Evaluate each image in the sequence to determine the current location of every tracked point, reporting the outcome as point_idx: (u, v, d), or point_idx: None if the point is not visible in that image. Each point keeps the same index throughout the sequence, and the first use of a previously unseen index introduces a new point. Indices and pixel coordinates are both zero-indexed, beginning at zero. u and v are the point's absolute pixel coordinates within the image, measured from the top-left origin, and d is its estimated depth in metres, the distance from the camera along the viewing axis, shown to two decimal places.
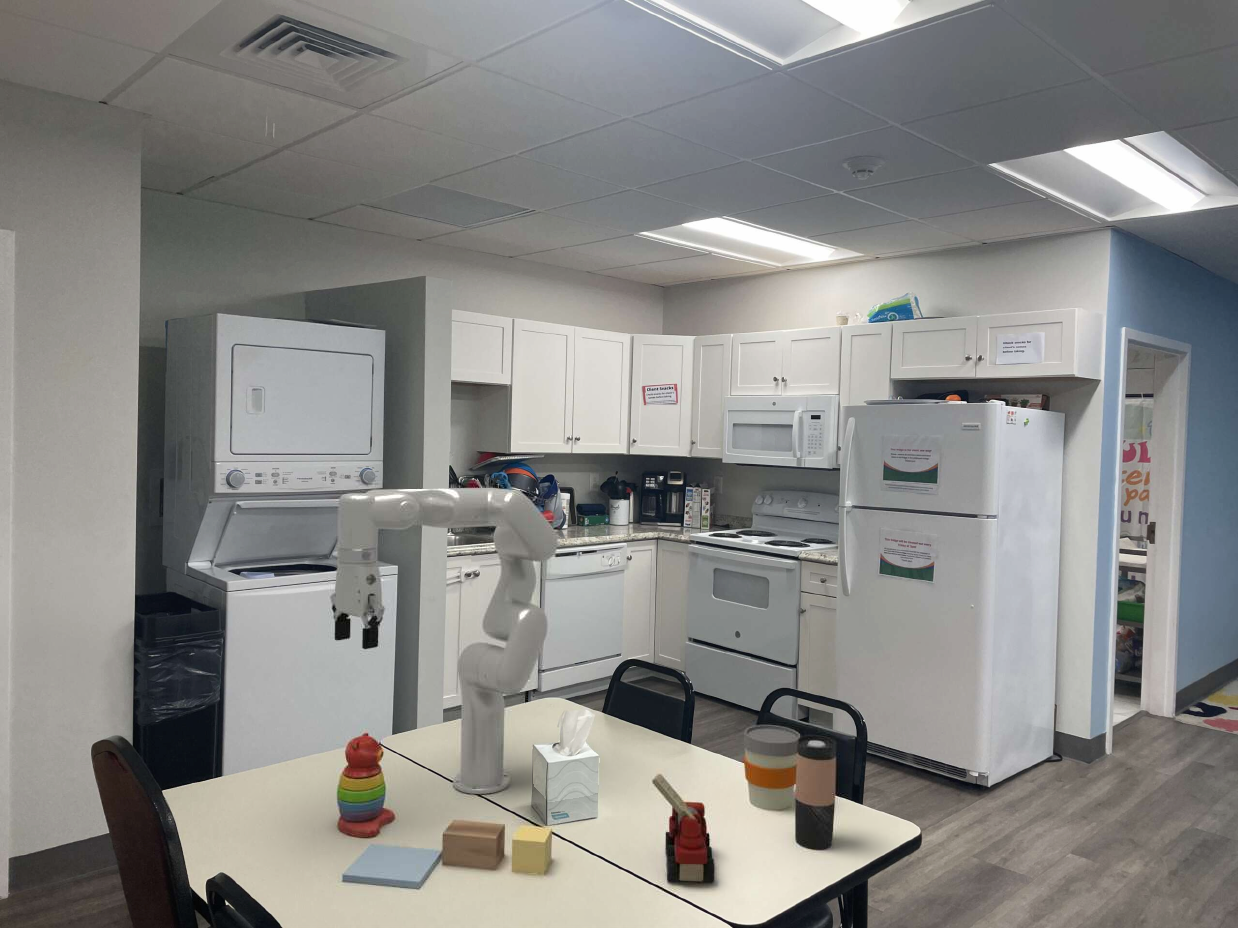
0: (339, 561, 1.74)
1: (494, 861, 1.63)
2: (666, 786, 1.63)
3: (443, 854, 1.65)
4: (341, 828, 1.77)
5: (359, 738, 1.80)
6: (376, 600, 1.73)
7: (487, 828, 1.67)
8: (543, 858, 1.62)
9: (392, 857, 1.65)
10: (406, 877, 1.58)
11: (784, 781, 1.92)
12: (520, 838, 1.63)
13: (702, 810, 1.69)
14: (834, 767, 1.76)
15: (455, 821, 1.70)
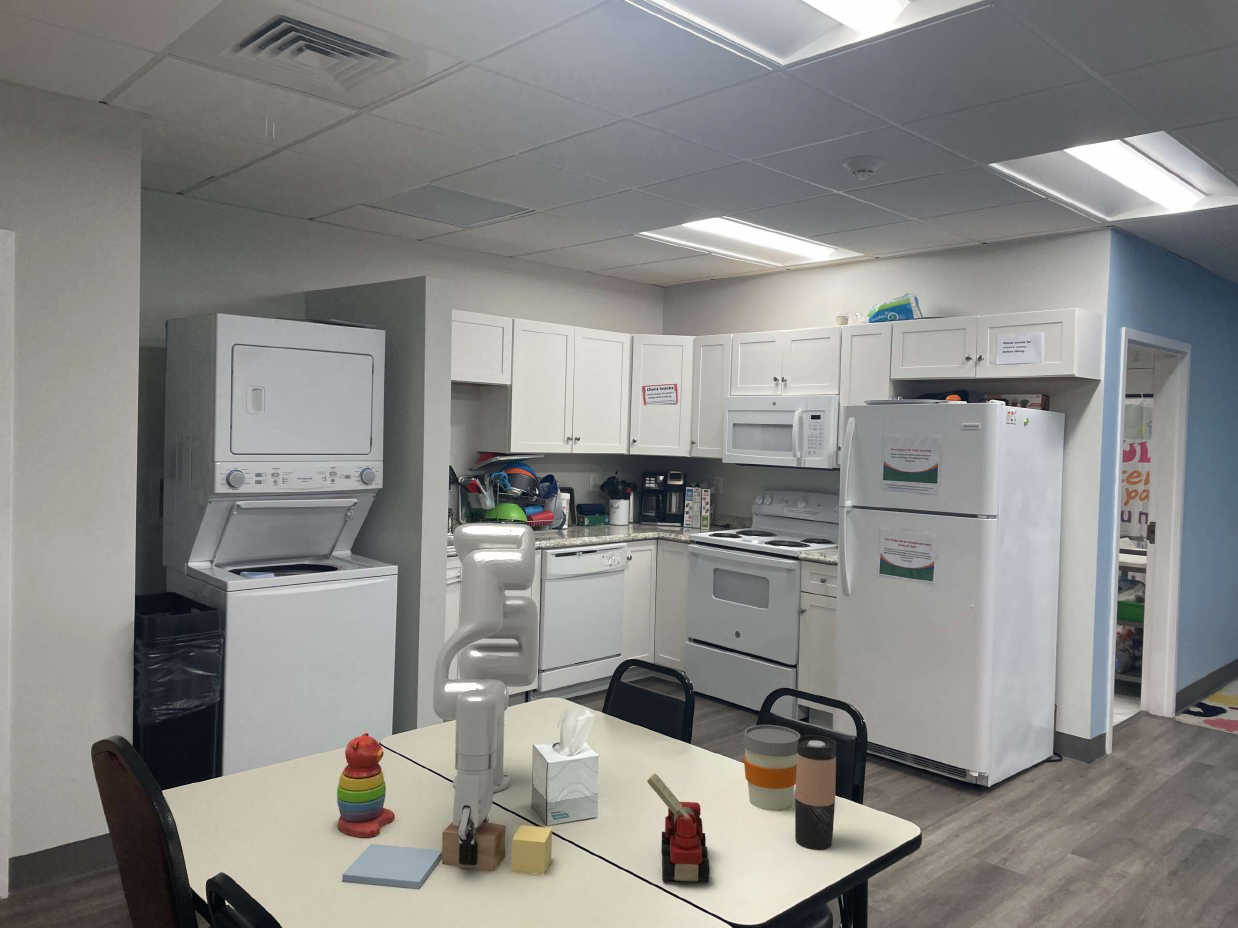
0: (494, 764, 1.66)
1: (492, 861, 1.63)
2: (661, 786, 1.63)
3: (443, 852, 1.65)
4: (341, 828, 1.77)
5: (359, 738, 1.80)
6: None
7: (488, 828, 1.67)
8: (543, 858, 1.62)
9: (392, 857, 1.65)
10: (406, 877, 1.58)
11: (784, 781, 1.92)
12: (520, 838, 1.63)
13: (698, 810, 1.69)
14: (834, 767, 1.76)
15: None
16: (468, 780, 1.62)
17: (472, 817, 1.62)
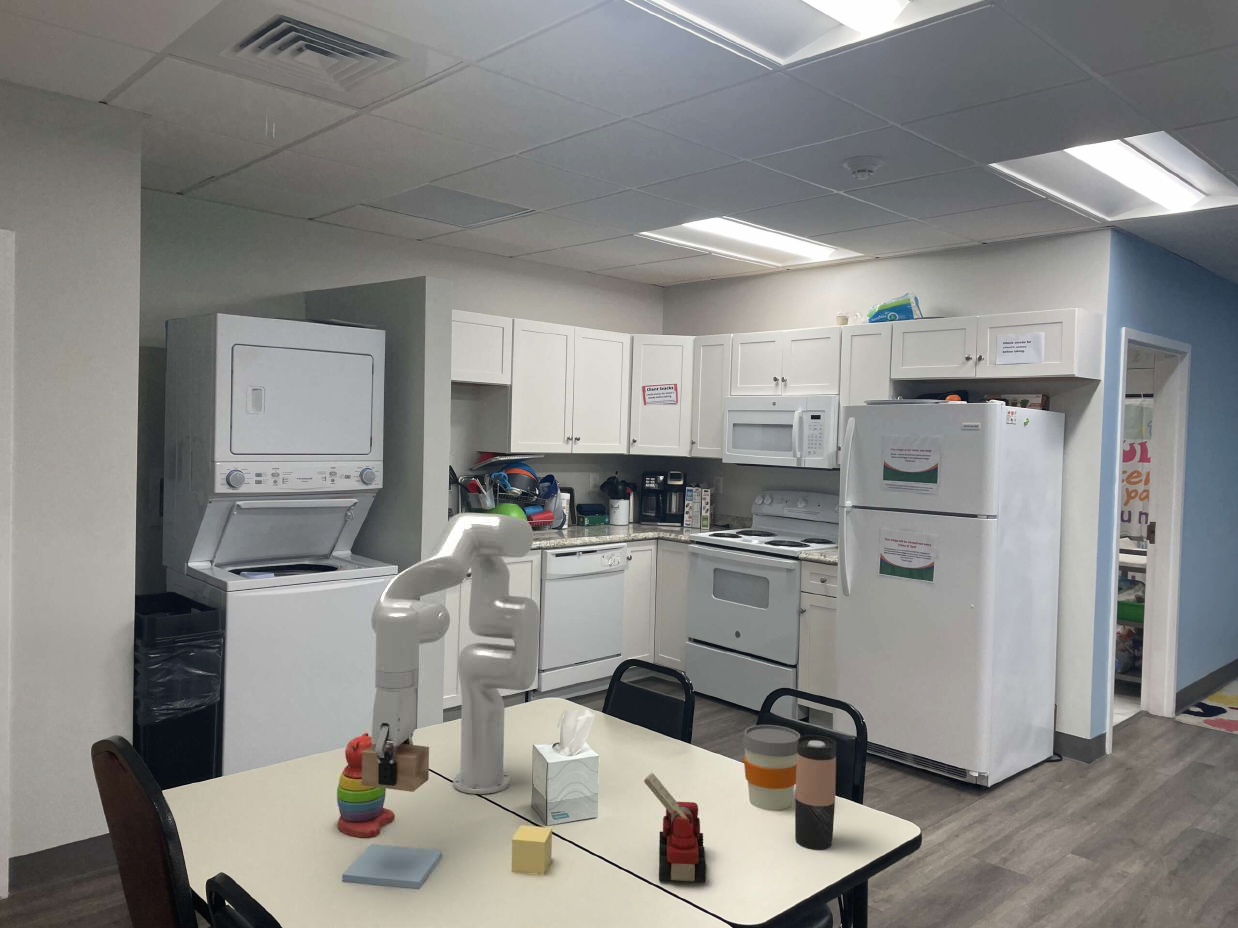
0: (415, 683, 1.61)
1: (412, 781, 1.58)
2: (658, 786, 1.63)
3: (362, 774, 1.61)
4: (341, 828, 1.77)
5: (359, 738, 1.80)
6: None
7: (409, 749, 1.62)
8: (543, 858, 1.62)
9: (392, 857, 1.65)
10: (406, 877, 1.58)
11: (784, 781, 1.92)
12: (520, 838, 1.63)
13: (695, 810, 1.69)
14: (834, 767, 1.76)
15: None
16: (387, 697, 1.57)
17: (391, 735, 1.57)
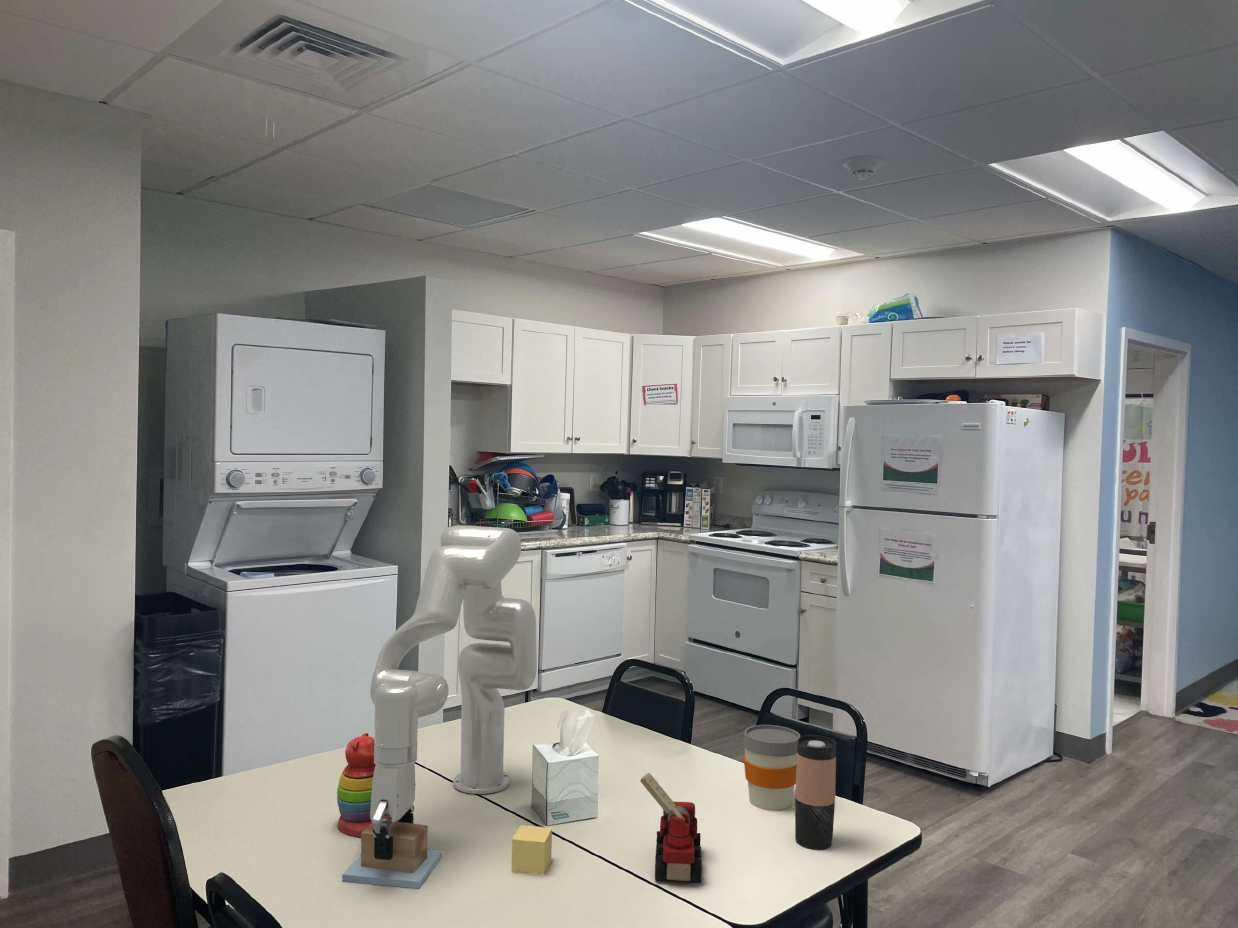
0: (414, 758, 1.61)
1: (412, 863, 1.59)
2: (654, 785, 1.64)
3: (362, 854, 1.61)
4: (341, 828, 1.77)
5: (359, 738, 1.80)
6: None
7: (408, 829, 1.63)
8: (543, 858, 1.62)
9: None
10: (406, 877, 1.58)
11: (784, 781, 1.92)
12: (520, 838, 1.63)
13: (692, 810, 1.69)
14: (834, 767, 1.76)
15: None
16: (386, 774, 1.58)
17: (389, 812, 1.57)
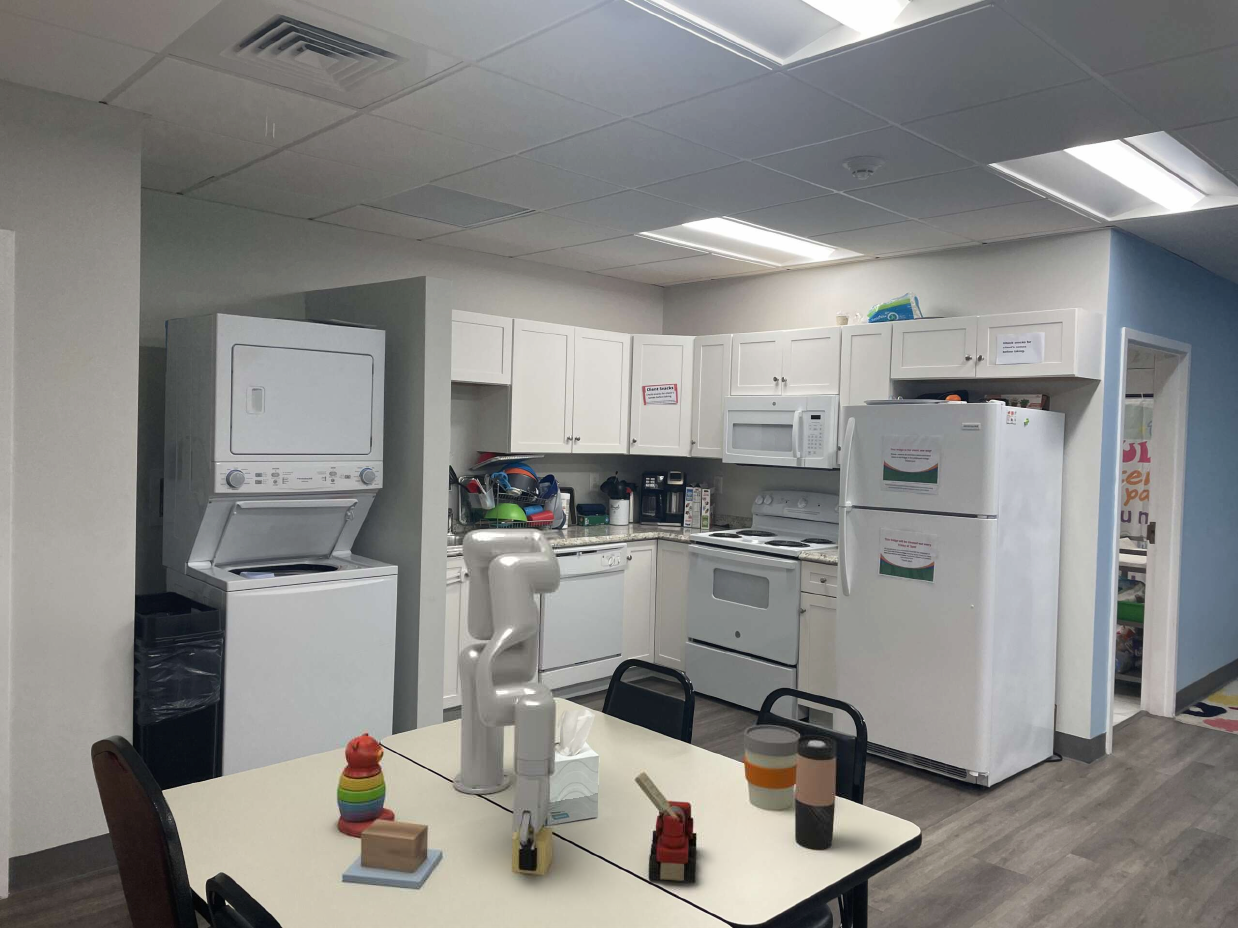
0: (553, 769, 1.64)
1: (412, 863, 1.59)
2: (649, 785, 1.64)
3: (362, 854, 1.61)
4: (341, 828, 1.77)
5: (359, 738, 1.80)
6: None
7: (408, 829, 1.63)
8: (543, 858, 1.62)
9: None
10: (406, 877, 1.58)
11: (784, 781, 1.92)
12: None
13: (688, 810, 1.69)
14: (834, 767, 1.76)
15: (377, 821, 1.66)
16: (528, 785, 1.61)
17: (532, 822, 1.60)
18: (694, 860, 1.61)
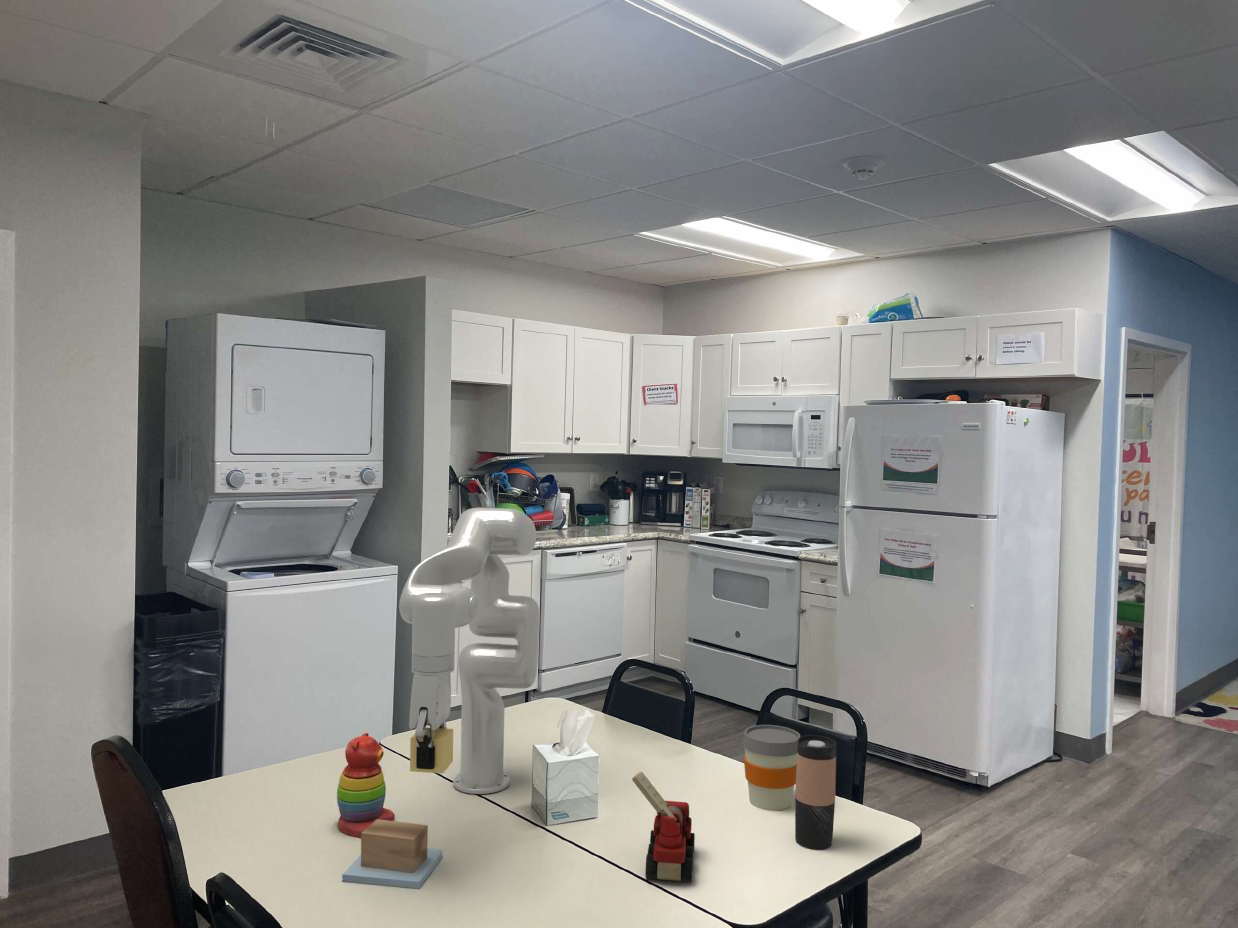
0: (452, 667, 1.62)
1: (412, 863, 1.59)
2: (646, 784, 1.64)
3: (362, 854, 1.61)
4: (341, 828, 1.77)
5: (359, 738, 1.80)
6: None
7: (408, 829, 1.63)
8: (442, 756, 1.60)
9: None
10: (406, 877, 1.58)
11: (784, 781, 1.92)
12: None
13: (686, 810, 1.69)
14: (834, 767, 1.76)
15: (377, 821, 1.66)
16: (425, 681, 1.58)
17: (429, 719, 1.58)
18: (691, 860, 1.61)
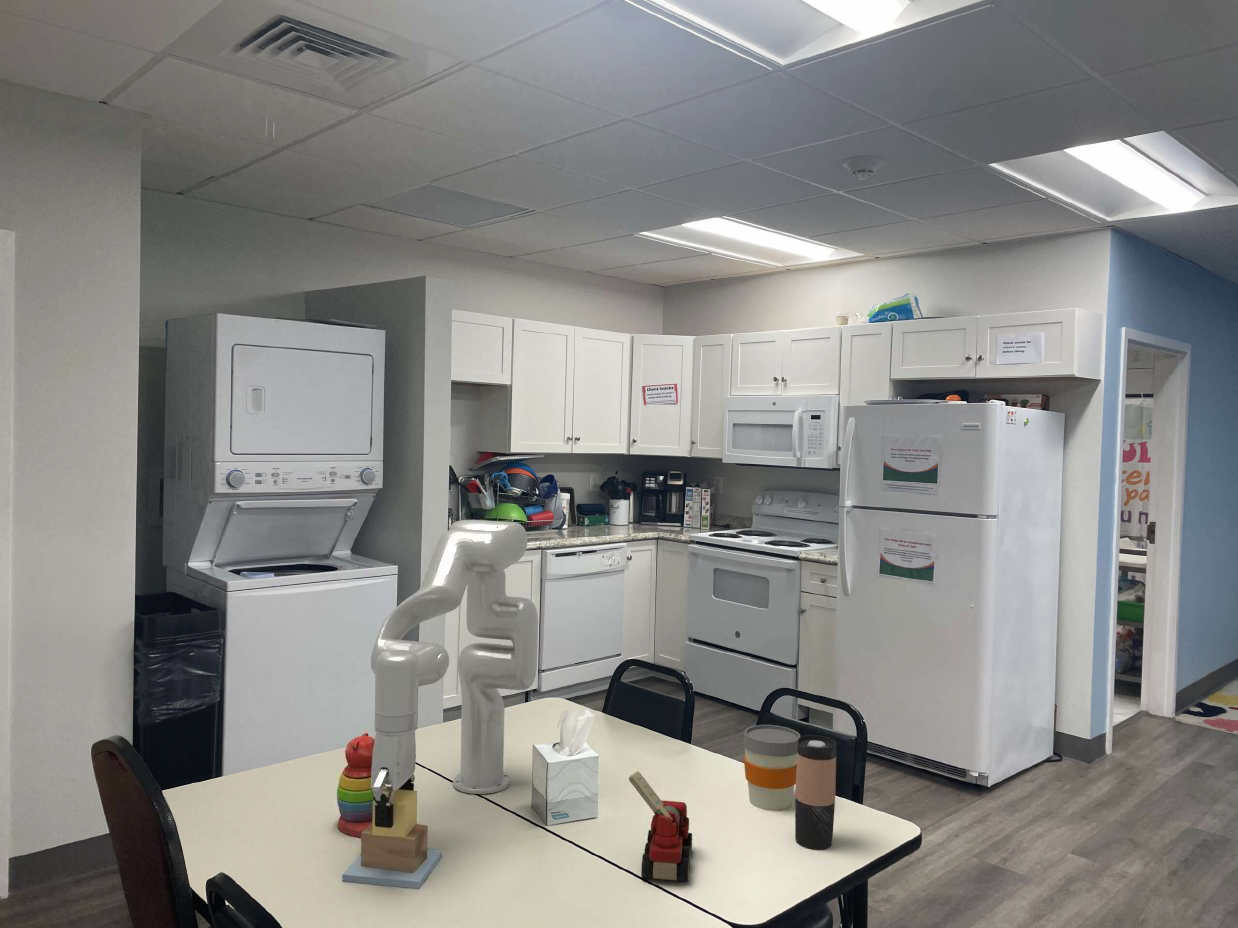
0: (415, 726, 1.61)
1: (412, 863, 1.59)
2: (643, 784, 1.64)
3: (362, 854, 1.61)
4: (341, 828, 1.77)
5: (359, 738, 1.80)
6: None
7: None
8: (404, 820, 1.59)
9: None
10: (406, 877, 1.58)
11: (784, 781, 1.92)
12: None
13: (683, 810, 1.69)
14: (834, 767, 1.76)
15: None
16: (386, 742, 1.58)
17: (390, 779, 1.57)
18: (687, 860, 1.61)
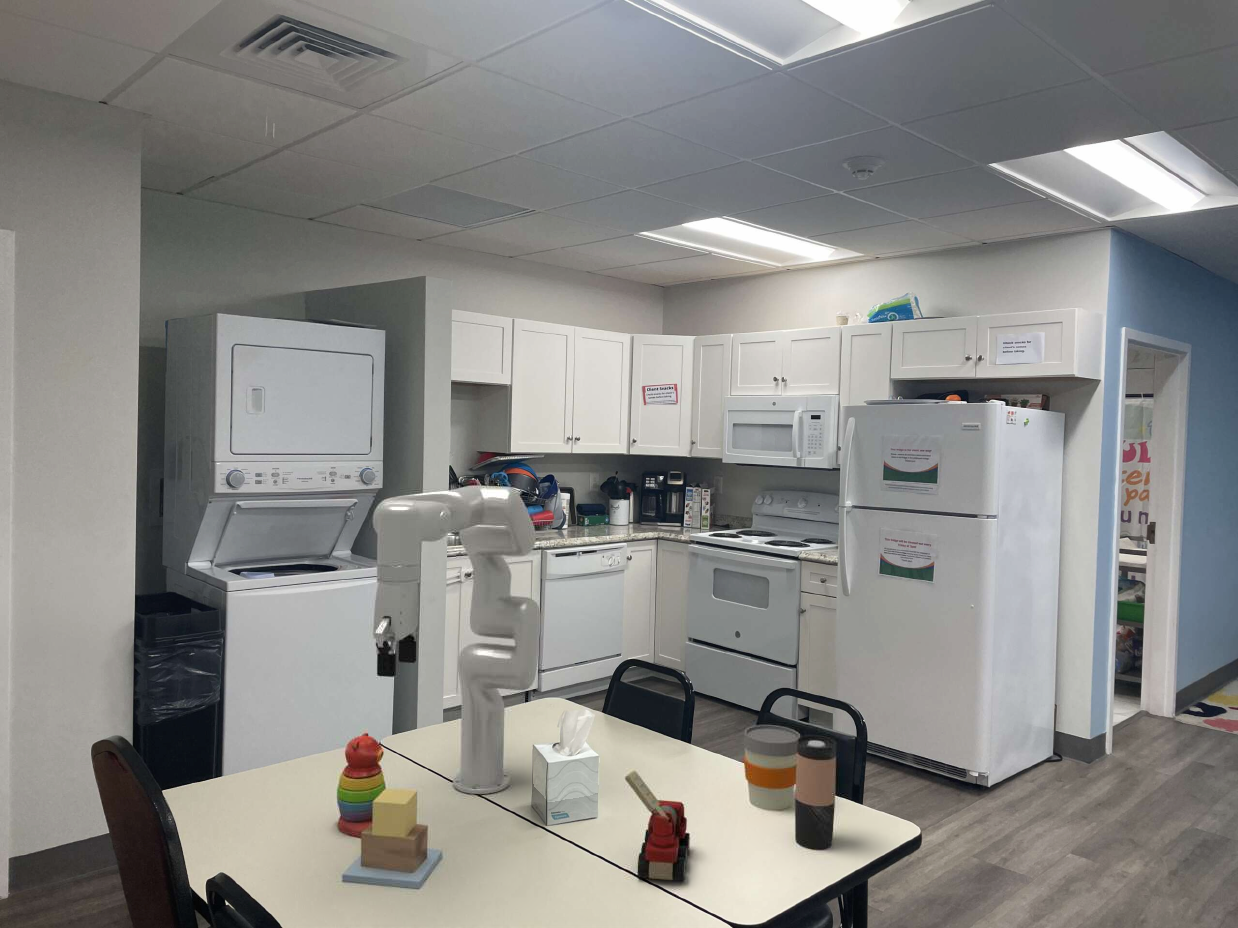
0: (417, 578, 1.60)
1: (412, 863, 1.59)
2: (639, 783, 1.64)
3: (362, 854, 1.61)
4: (341, 828, 1.77)
5: (359, 738, 1.80)
6: None
7: None
8: (404, 820, 1.59)
9: None
10: (406, 877, 1.58)
11: (784, 781, 1.92)
12: (381, 800, 1.60)
13: (680, 809, 1.69)
14: (834, 767, 1.76)
15: None
16: (389, 590, 1.57)
17: (392, 628, 1.56)
18: (683, 860, 1.61)
